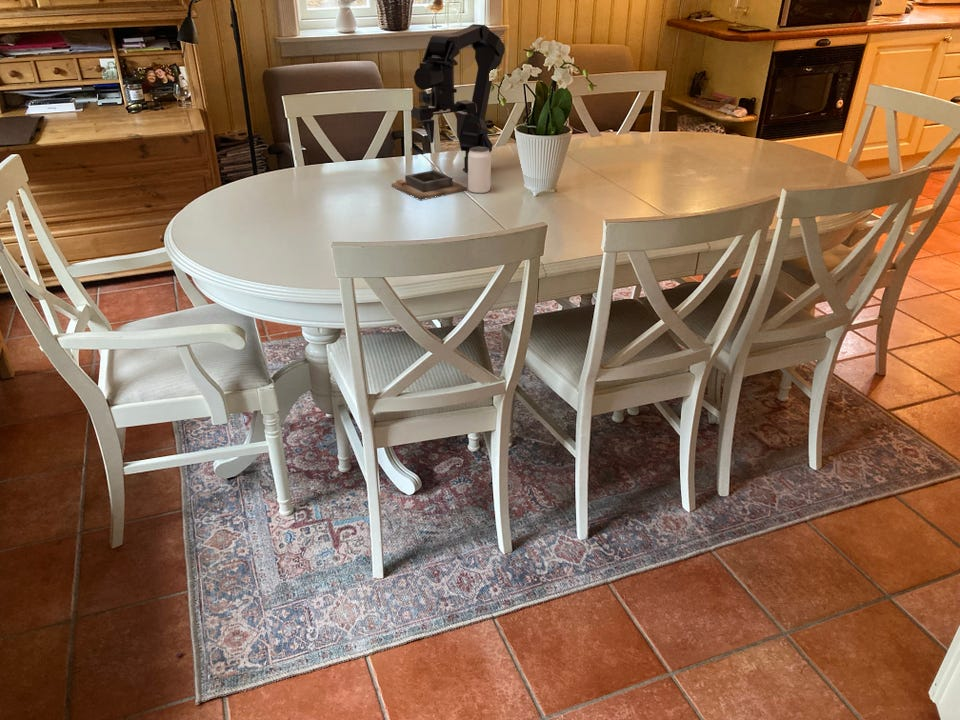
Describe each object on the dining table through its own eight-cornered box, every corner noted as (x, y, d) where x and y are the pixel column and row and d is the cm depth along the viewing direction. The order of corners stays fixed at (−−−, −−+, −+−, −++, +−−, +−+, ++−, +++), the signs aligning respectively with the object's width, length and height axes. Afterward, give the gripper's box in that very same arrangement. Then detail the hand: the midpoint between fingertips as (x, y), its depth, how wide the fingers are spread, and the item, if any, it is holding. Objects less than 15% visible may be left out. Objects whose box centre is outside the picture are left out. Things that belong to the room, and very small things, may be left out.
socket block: (437, 177, 231) (437, 166, 229) (466, 190, 219) (466, 178, 218) (391, 186, 223) (391, 174, 221) (420, 200, 211) (419, 188, 210)
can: (474, 195, 216) (474, 153, 210) (464, 189, 221) (464, 147, 215) (494, 191, 218) (494, 150, 212) (483, 186, 223) (484, 145, 217)
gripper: (457, 76, 220) (458, 131, 228) (400, 83, 212) (403, 139, 219) (477, 82, 212) (478, 138, 220) (420, 89, 203) (422, 147, 211)
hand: (445, 140), depth 218 cm, fingers open, 9 cm apart
